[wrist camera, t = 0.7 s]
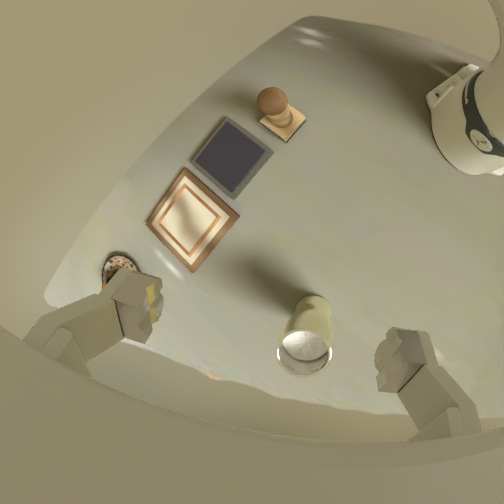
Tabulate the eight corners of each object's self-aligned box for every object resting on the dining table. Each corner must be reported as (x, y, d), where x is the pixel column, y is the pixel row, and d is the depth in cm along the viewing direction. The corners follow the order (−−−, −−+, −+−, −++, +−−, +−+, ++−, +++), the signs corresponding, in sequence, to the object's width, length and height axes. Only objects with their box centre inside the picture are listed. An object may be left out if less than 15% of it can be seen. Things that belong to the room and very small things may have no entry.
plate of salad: (158, 291, 54) (135, 301, 47) (126, 318, 57) (104, 329, 50) (127, 241, 55) (102, 245, 47) (99, 272, 58) (75, 279, 51)
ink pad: (230, 118, 45) (226, 115, 44) (274, 152, 44) (271, 150, 43) (194, 163, 48) (189, 162, 46) (234, 199, 47) (231, 198, 45)
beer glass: (285, 302, 47) (264, 339, 33) (324, 285, 45) (319, 317, 30) (302, 338, 47) (288, 385, 32) (340, 322, 45) (342, 367, 30)
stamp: (282, 103, 43) (266, 73, 32) (306, 120, 42) (297, 92, 31) (263, 125, 44) (241, 100, 33) (286, 143, 44) (271, 120, 32)
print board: (187, 168, 49) (183, 167, 47) (240, 216, 47) (237, 216, 46) (148, 224, 52) (144, 224, 51) (194, 272, 51) (191, 273, 49)
